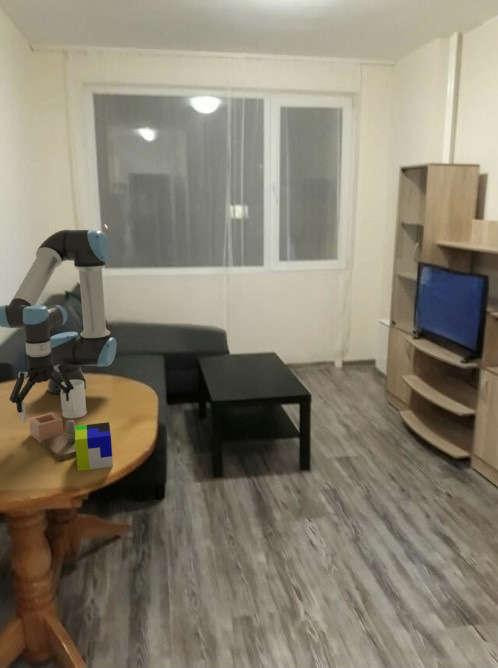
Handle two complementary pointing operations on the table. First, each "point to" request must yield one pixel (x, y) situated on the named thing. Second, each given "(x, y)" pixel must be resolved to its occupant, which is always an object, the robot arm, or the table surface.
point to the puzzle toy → (93, 446)
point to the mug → (75, 400)
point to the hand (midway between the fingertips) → (44, 415)
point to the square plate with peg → (62, 443)
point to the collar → (45, 426)
